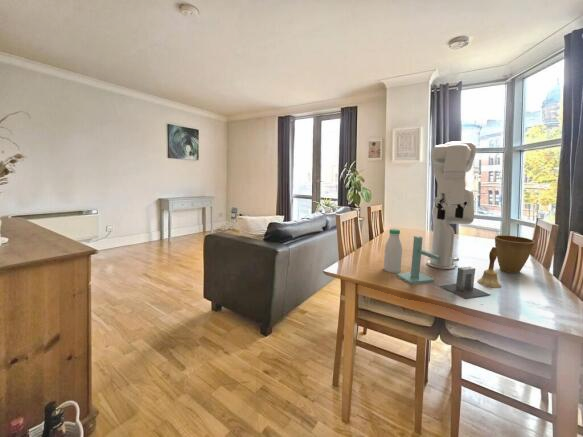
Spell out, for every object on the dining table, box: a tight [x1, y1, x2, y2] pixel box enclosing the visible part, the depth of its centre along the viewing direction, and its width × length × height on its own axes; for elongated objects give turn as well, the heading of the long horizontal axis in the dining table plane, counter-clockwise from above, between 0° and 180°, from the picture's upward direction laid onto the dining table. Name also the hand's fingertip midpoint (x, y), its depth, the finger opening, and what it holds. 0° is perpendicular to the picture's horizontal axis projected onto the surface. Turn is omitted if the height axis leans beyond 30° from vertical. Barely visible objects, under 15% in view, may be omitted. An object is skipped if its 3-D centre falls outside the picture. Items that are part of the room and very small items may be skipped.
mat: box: [439, 283, 491, 300], centre depth 109 cm, size 12×12×1 cm
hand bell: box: [477, 246, 502, 288], centre depth 116 cm, size 8×8×16 cm
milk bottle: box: [383, 228, 403, 274], centre depth 131 cm, size 8×8×20 cm
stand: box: [395, 235, 440, 285], centre depth 117 cm, size 12×17×19 cm
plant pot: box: [494, 234, 536, 274], centre depth 132 cm, size 15×15×16 cm
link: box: [455, 266, 476, 292], centre depth 109 cm, size 6×2×9 cm, turn 106°
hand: (449, 218), depth 113 cm, fingers open, 9 cm apart
